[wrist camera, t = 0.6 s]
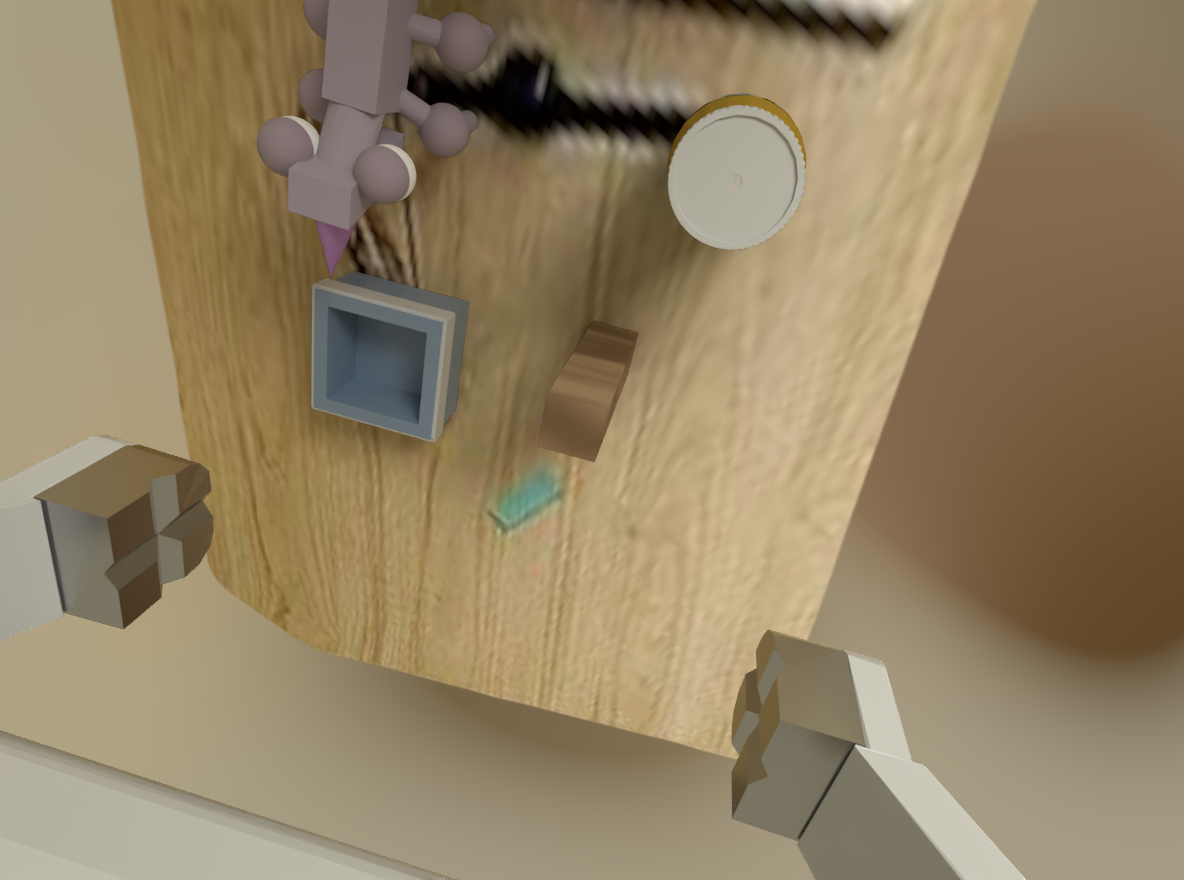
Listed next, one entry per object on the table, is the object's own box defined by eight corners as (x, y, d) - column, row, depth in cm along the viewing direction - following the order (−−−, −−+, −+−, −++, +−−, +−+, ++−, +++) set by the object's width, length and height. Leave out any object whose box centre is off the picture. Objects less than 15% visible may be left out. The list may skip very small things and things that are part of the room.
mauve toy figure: (472, 263, 51) (391, 316, 39) (338, 217, 51) (216, 256, 39) (535, -56, 41) (454, -115, 29) (369, -110, 41) (221, -191, 29)
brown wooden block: (592, 320, 51) (547, 393, 39) (638, 332, 51) (607, 410, 38) (583, 363, 53) (537, 446, 40) (627, 375, 52) (594, 462, 40)
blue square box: (349, 266, 53) (310, 284, 48) (473, 299, 52) (446, 320, 47) (345, 382, 57) (310, 409, 53) (459, 414, 57) (433, 444, 52)
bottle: (721, 232, 46) (715, 288, 33) (659, 145, 45) (627, 168, 32) (813, 164, 44) (846, 195, 30) (751, 67, 42) (757, 57, 29)
